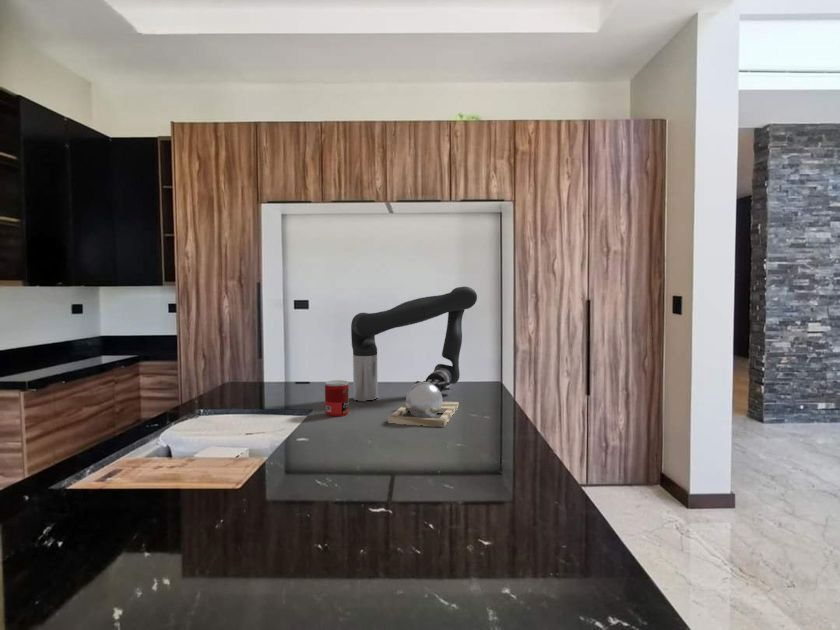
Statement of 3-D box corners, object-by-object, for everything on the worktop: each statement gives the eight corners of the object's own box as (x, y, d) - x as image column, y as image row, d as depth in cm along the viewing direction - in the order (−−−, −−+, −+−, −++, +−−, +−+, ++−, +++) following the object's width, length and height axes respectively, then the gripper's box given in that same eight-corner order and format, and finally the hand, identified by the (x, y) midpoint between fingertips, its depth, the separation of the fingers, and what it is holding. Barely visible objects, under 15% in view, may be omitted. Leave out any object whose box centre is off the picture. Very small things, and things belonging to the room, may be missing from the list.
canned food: (347, 417, 172) (346, 384, 172) (323, 417, 172) (322, 384, 172) (350, 411, 180) (350, 380, 179) (327, 411, 180) (327, 380, 179)
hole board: (410, 404, 189) (410, 399, 189) (458, 407, 185) (458, 402, 185) (388, 423, 164) (388, 417, 164) (444, 427, 160) (444, 420, 159)
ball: (402, 385, 176) (395, 412, 167) (425, 368, 169) (418, 395, 160) (429, 405, 179) (423, 431, 170) (452, 389, 173) (447, 416, 163)
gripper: (420, 370, 194) (408, 378, 177) (455, 371, 191) (446, 380, 174) (420, 390, 195) (408, 400, 178) (455, 391, 191) (446, 402, 175)
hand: (427, 390), depth 176 cm, fingers closed
